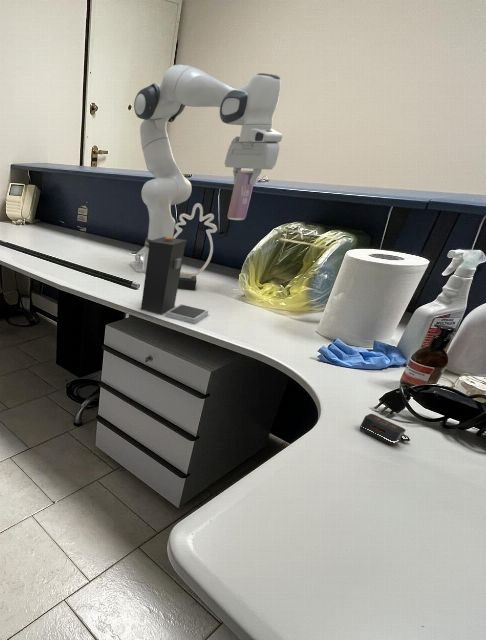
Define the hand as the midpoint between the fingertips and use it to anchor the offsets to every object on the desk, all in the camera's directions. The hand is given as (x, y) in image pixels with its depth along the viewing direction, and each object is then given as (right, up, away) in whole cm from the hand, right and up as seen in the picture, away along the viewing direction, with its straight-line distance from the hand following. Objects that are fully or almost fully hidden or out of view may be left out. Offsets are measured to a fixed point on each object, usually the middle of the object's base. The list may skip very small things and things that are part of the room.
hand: (243, 183), depth 137 cm
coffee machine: (-23, -43, +4) cm, 49 cm away
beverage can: (0, -10, +6) cm, 11 cm away
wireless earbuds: (+1, -79, -56) cm, 97 cm away
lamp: (-10, -27, +31) cm, 43 cm away
